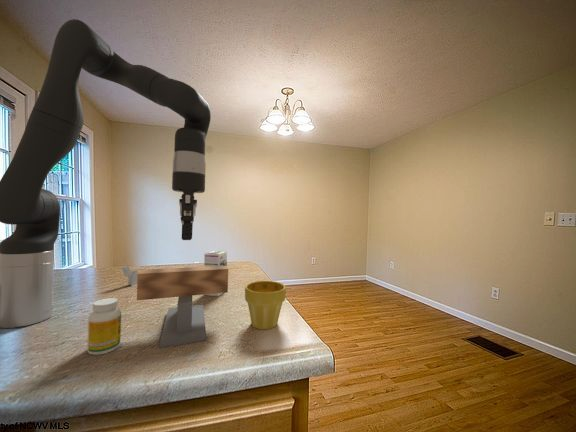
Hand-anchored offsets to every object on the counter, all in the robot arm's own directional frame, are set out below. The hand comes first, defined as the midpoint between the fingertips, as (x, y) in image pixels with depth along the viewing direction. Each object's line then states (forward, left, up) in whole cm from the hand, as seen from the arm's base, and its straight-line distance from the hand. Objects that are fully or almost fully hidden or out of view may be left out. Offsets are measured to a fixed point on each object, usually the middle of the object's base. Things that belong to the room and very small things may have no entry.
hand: (187, 238), depth 60 cm
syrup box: (+9, +23, -22) cm, 33 cm away
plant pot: (+19, -5, -22) cm, 29 cm away
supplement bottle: (-15, -6, -22) cm, 27 cm away
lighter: (-20, +41, -22) cm, 51 cm away
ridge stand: (0, 0, -22) cm, 22 cm away
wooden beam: (0, 0, -14) cm, 14 cm away
